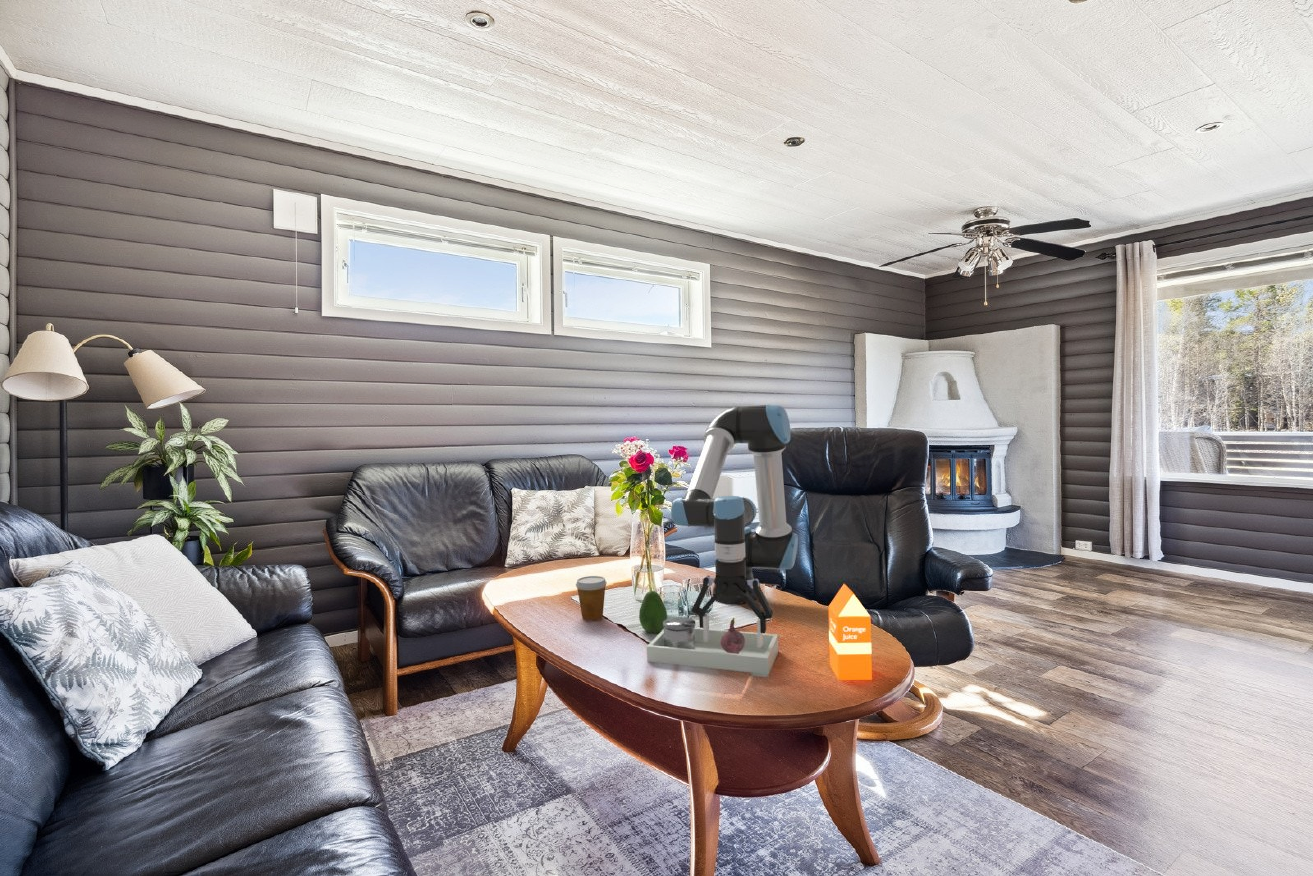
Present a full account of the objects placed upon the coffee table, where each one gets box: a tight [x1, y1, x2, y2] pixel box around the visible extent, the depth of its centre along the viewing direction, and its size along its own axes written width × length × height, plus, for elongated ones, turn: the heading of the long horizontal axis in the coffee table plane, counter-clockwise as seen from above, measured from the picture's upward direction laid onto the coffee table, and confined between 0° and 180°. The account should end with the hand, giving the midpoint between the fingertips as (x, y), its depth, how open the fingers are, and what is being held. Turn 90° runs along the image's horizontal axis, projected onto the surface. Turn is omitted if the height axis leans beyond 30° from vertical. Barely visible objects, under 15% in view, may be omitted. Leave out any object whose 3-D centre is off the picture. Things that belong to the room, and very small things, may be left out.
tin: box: [663, 616, 696, 649], centre depth 160 cm, size 8×8×8 cm
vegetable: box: [721, 617, 745, 654], centre depth 155 cm, size 6×6×10 cm
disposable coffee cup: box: [575, 575, 607, 622], centre depth 192 cm, size 10×10×12 cm
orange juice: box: [828, 583, 873, 681], centre depth 146 cm, size 8×9×20 cm
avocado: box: [638, 590, 668, 634], centre depth 176 cm, size 8×8×12 cm
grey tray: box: [646, 627, 780, 678], centre depth 157 cm, size 16×30×4 cm, turn 70°
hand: (732, 643), depth 156 cm, fingers open, 13 cm apart
